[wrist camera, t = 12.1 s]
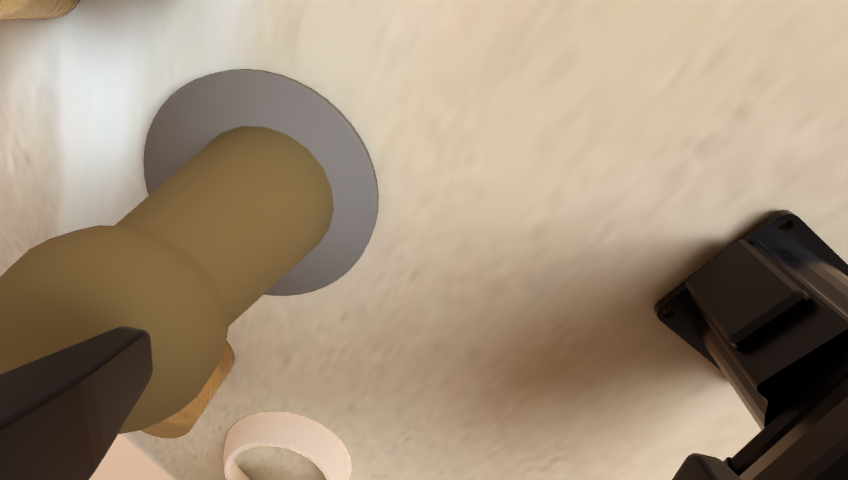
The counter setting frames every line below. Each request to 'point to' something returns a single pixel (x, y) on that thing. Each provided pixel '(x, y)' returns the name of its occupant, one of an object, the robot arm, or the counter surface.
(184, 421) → the cylinder
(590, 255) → the counter surface
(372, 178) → the coaster
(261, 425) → the vr controller
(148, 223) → the brown pawn piece
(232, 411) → the counter surface
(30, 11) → the cylinder
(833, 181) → the counter surface
